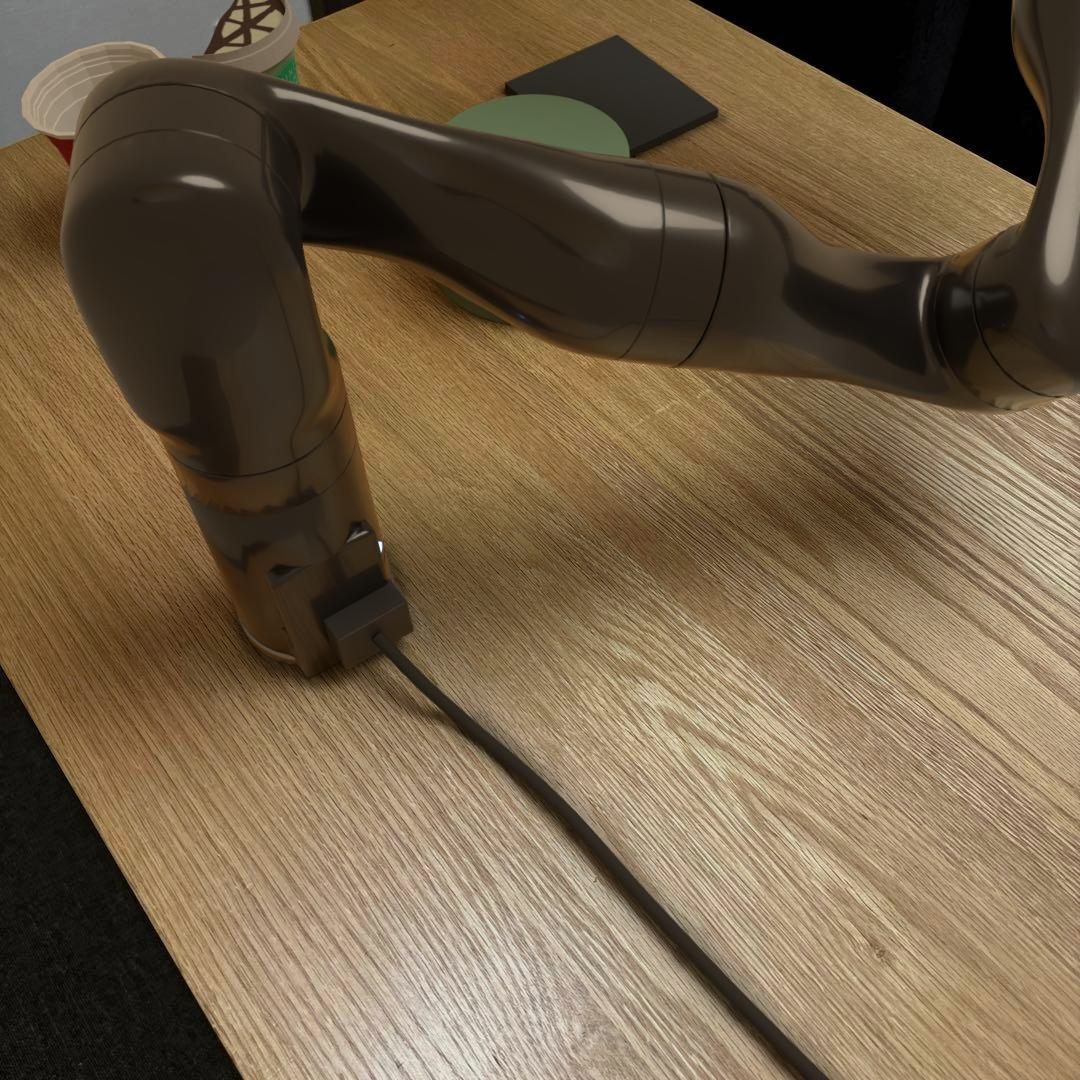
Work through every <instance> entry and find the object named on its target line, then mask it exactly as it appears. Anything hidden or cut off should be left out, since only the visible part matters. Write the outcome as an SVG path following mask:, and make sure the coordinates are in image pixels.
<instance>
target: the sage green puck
mask: <svg viewBox="0 0 1080 1080" xmlns="http://www.w3.org/2000/svg"><path fill="white" fill-rule="evenodd" d="M445 124H446V125H451V126H456V127H461V128H467V129H472V130H478V131H483V132H489V133H494V134H498V135H504V136H509V137H514V138H520V139H525V140H529V141H534V142H538V143H543V144H548V145H553V146H558V147H564V148H569V149H574V150H579V151H585V152H591V153H598V154H605V155H614V156H622V157H629V156H630V154H629V145H628V142H627V139H626V137H625V135H624V133H623V131H622V130H621V128H620V127H619V126H618V125H617V123H616V122H615V121H613V120H612V119H611V118H610V117H609V116H608V115H606V114H605V113H603V112H602V111H600V110H598V109H596V108H595V107H593V106H591V105H588V104H586V103H583V102H580V101H577V100H573V99H570V98H565V97H560V96H553V95H539V94H529V95H515V96H511V95H508V96H502V97H498V98H494V99H490V100H487V101H484V102H481V103H478V104H476V105H474V106H470V107H469V108H467V109H465V110H463V111H461V112H460V113H458V114H457V115H455V116H454V117H452V118H451V119H450V120H448V121H447V122H446V123H445ZM437 283H438V285H439V287H440V288H441V290H442V291H443V293H445V295H446V296H447V297H448V298H449V299H450V300H451V301H452V302H454V303H455V305H457V306H458V307H460V308H462V309H463V310H465V311H467V312H469V313H471V314H473V315H475V316H477V317H479V318H483V319H485V320H487V321H492V322H495V323H496V322H497V323H500V324H507V325H511V324H510V323H508V322H506V321H505V320H503V319H501V318H500V317H498V316H496V315H495V314H493V313H491V312H490V311H488V310H486V309H484V308H483V307H481V306H479V305H478V304H476V303H474V302H473V301H471V300H469V299H467V298H466V297H464V296H462V295H461V294H459V293H457V292H456V291H454V290H452V289H450V288H449V287H447V286H445V285H443V284H441V283H439V282H438V281H437Z"/></svg>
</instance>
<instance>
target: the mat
mask: <svg viewBox="0 0 1080 1080" xmlns="http://www.w3.org/2000/svg"><path fill="white" fill-rule="evenodd" d="M504 91H505V93H507V94H508V95H509V96H515V95H529V94H539V95H553V96H560V97H565V98H570V99H573V100H577V101H580V102H583V103H586V104H588V105H591V106H593V107H595V108H596V109H598V110H600V111H602V112H603V113H605V114H606V115H608V116H609V117H610V118H611V119H612V120H613V121H615V122H616V123H617V125H618V126H619V127H620V128H621V130H622V131H623V133H624V135H625V137H626V139H627V142H628V145H629V154H630V156H629V158H634V157H635V156H637V155H639V154H642V153H644V152H646V151H648V150H650V149H652V148H655V147H656V146H659V145H661V144H663V143H665V142H667V141H669V140H671V139H673V138H676V137H677V136H680V135H682V134H684V133H686V132H688V131H691V130H693V129H694V128H697V127H699V126H701V125H703V124H706V123H708V122H710V121H711V120H714V119H716V118H719V108H718V106H716V105H715V104H713V103H712V102H710V101H709V100H707V98H705V97H704V96H702V95H701V94H700V93H698V92H696V91H695V90H694V89H692V88H691V87H690V86H688V85H687V84H686V83H685V82H683V81H682V80H680V79H679V78H678V77H676V76H675V75H673V74H672V73H671V72H670V71H668V70H666V69H665V68H664V67H663V66H662V65H660V64H658V63H657V62H656V61H654V60H653V59H652V58H650V57H649V56H647V54H645V53H643V52H642V51H640V50H639V49H638V48H637V47H635V46H634V45H633V44H631V43H630V42H628V41H627V40H626V39H624V38H623V37H622V36H620V35H619V34H615V35H613V36H610V37H607V38H605V39H603V40H600V41H598V42H597V43H594V44H592V45H589V46H587V47H584V48H582V49H579V50H577V51H576V52H573V53H570V54H568V55H566V56H564V57H561V58H558V59H556V60H555V61H551V62H550V63H546V64H545V65H542V66H540V67H537V68H536V69H533V70H531V71H529V72H525V73H524V74H521V75H519V76H517V77H514V78H512V79H510V80H508V81H505V82H504Z"/></svg>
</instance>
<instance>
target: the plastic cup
mask: <svg viewBox="0 0 1080 1080" xmlns="http://www.w3.org/2000/svg"><path fill="white" fill-rule="evenodd" d="M159 58H167V57H166V56H165V55H163V54H162V53H161V52H160V51H159V50H158V49H157V48H155V47H154V46H151V45H147V44H143V43H139V42H136V41H132V40H131V41H130V40H129V41H106V42H105V41H104V42H101V43H97V44H94V45H91V46H90V45H89V46H86V47H82V48H78V49H76V50H73V51H72V52H70V53H68V54H66V55H64V56H62V57H60V58H58V59H56V60H54V61H52V62H50V63H49V64H48V65H47V66H46V67H44V68H43V69H42V70H41V71H40V72H39V73H38V74H36V75H35V76H34V77H33V78H32V79H31V80H30V82H29V84H28V85H27V87H26V89H25V91H24V92H23V95H21V96H22V97H21V98H20V99H21V116H22V117H23V118H24V119H25V120H26V121H27V122H28V123H29V124H30V126H32V128H34V130H35V131H36V132H38V133H39V134H41V135H44V136H45V137H46V138H47V139H48V140H49V142H50V143H51V144H52V145H53V146H54V147H55V148H56V149H57V150H58V152H59V153H60V155H61V156H62V158H63V159H64V161H65V162H66V164H67V166H68V167H69V168H70V161H71V155H72V150H73V142H74V137H75V131H76V125H77V120H78V116H79V114H80V111H81V108H82V106H83V104H84V102H85V100H86V98H87V96H88V95H89V93H90V92H91V91H92V89H93V88H94V87H95V86H96V85H97V84H98V83H99V82H100V81H101V80H102V79H104V78H105V77H107V76H108V75H109V74H111V73H113V72H115V71H116V70H118V69H120V68H122V67H125V66H128V65H131V64H134V63H137V62H140V61H144V60H150V59H159Z"/></svg>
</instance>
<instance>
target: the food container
mask: <svg viewBox="0 0 1080 1080" xmlns="http://www.w3.org/2000/svg"><path fill="white" fill-rule="evenodd" d="M299 38H300V25H299V21H298V19H297V17H296V15H295V13H294V11H293V9H292V6H291V4H290V3H289V1H288V0H233V2H232V4H231V5H230V6H229V8H228V9H227V10H226V11H225V12H224V13H223V14H222V16H221V17H220V18H219V20H218V22H217V24H216V26H215V28H214V31H213V34H212V37H211V39H210V41H209V43H208V45H207V47H206V49H205V51H204V53H203V54H191V58H194V59H202V60H208V61H214V62H219V63H224V64H228V65H233V66H237V67H240V68H244V69H248V70H252V71H255V72H259V73H263V74H266V75H270V76H273V77H276V78H280V79H283V80H286V81H290V82H293V83H296V84H300V80H299V73H298V67H297V59H296V51H295V46H296V45H297V43H298V40H299Z"/></svg>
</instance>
